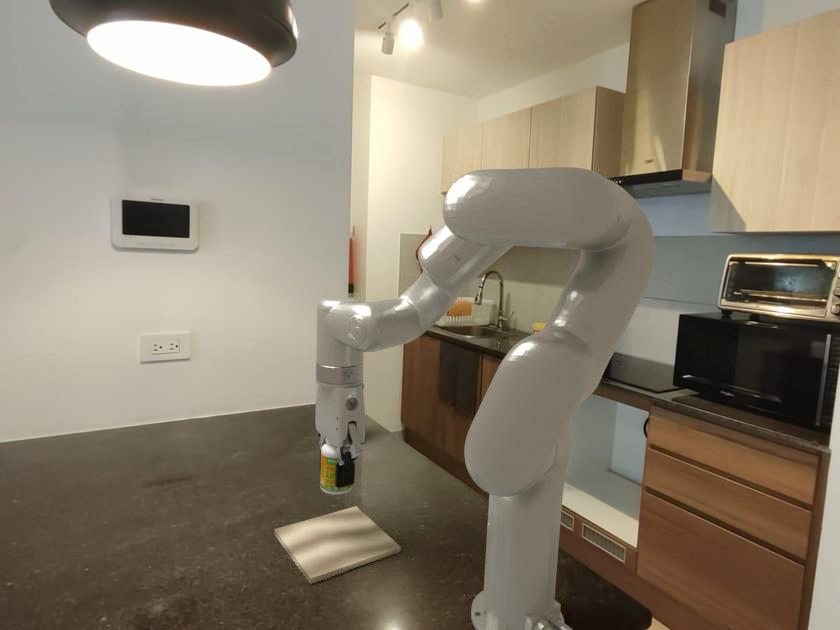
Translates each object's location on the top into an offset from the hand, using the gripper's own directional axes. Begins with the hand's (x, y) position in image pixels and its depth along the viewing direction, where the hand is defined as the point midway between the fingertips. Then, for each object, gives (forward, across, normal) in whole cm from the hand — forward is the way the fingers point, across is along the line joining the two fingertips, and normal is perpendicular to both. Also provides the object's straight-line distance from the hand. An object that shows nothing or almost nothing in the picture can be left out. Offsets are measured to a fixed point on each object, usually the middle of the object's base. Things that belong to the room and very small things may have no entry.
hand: (336, 477), depth 87 cm
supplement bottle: (+2, 0, 0) cm, 2 cm away
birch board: (+12, 0, 0) cm, 12 cm away
